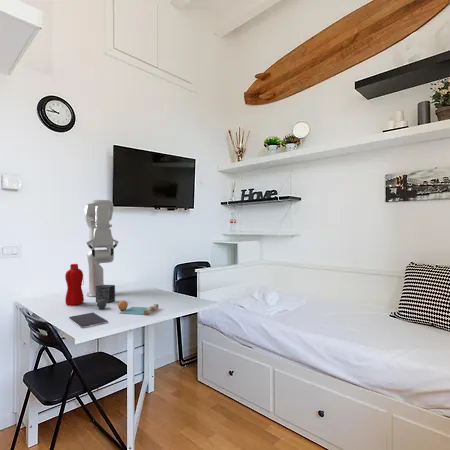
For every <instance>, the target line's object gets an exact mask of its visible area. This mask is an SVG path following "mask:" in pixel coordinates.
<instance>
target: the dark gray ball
mask: <svg viewBox="0 0 450 450" xmlns="http://www.w3.org/2000/svg"><path fill="white" fill-rule="evenodd" d="M106 306H107V303H106V301H105V300H104V299H100V300H98V301H97V302H96V307H97V308H98V309H100V310H101V309H102V310H103V309H105V308H106Z"/></svg>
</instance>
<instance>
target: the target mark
mask: <svg viewBox="0 0 450 450" xmlns="http://www.w3.org/2000/svg"><path fill="white" fill-rule="evenodd" d="M147 308H149V307H147V306H146V307H144V306H143V307H142V306H131V307H129V308H126V309H125V310H122V311H120V312H119V314H123V315H136V316H137V315H140V316H144V310H146V309H147Z"/></svg>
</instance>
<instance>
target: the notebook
mask: <svg viewBox="0 0 450 450" xmlns="http://www.w3.org/2000/svg"><path fill="white" fill-rule="evenodd" d="M68 318H69V319H68V320H70V319H71V320H72V321H71V320H70V321H71V322H73V323H74V322H75V323H76V324H75V323H74V324H75V325H77V324H78V325H79V326H80V328H81V327H85V326H90V325H94V326H97V325H96V324H99V325H102V324H101V323H104V324H107V323H106V322H109V321H108V320H107V319H106V318H104V317H102V316H100V315H98V314H97V313H95V312H94V311H93V312H88V313H83V314H77V315H72V316H69V317H68ZM78 325H77V326H78ZM79 326H78V327H79ZM90 327H91V326H90ZM85 328H86V327H85Z"/></svg>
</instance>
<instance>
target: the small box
mask: <svg viewBox="0 0 450 450" xmlns="http://www.w3.org/2000/svg"><path fill="white" fill-rule="evenodd" d="M100 299H104V300H105V301H106V304H110V303H113V302H116V285H115V284H104V285H98V286H96V296H95V303H97V301H98V300H100Z"/></svg>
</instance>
